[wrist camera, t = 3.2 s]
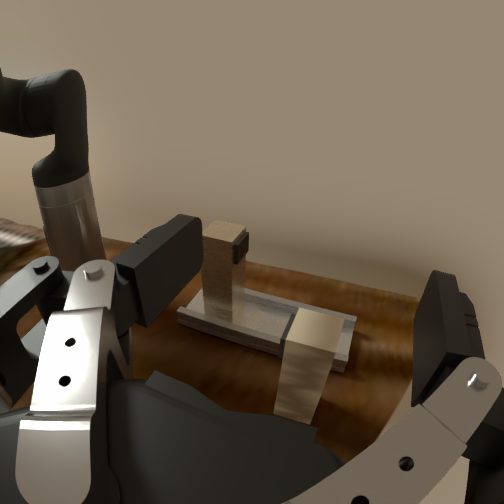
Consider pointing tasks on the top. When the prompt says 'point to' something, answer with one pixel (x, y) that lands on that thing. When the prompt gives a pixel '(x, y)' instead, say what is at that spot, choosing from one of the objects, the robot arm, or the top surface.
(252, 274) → the top surface
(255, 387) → the top surface
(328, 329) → the beige tall rectangular block
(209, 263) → the rail
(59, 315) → the robot arm
